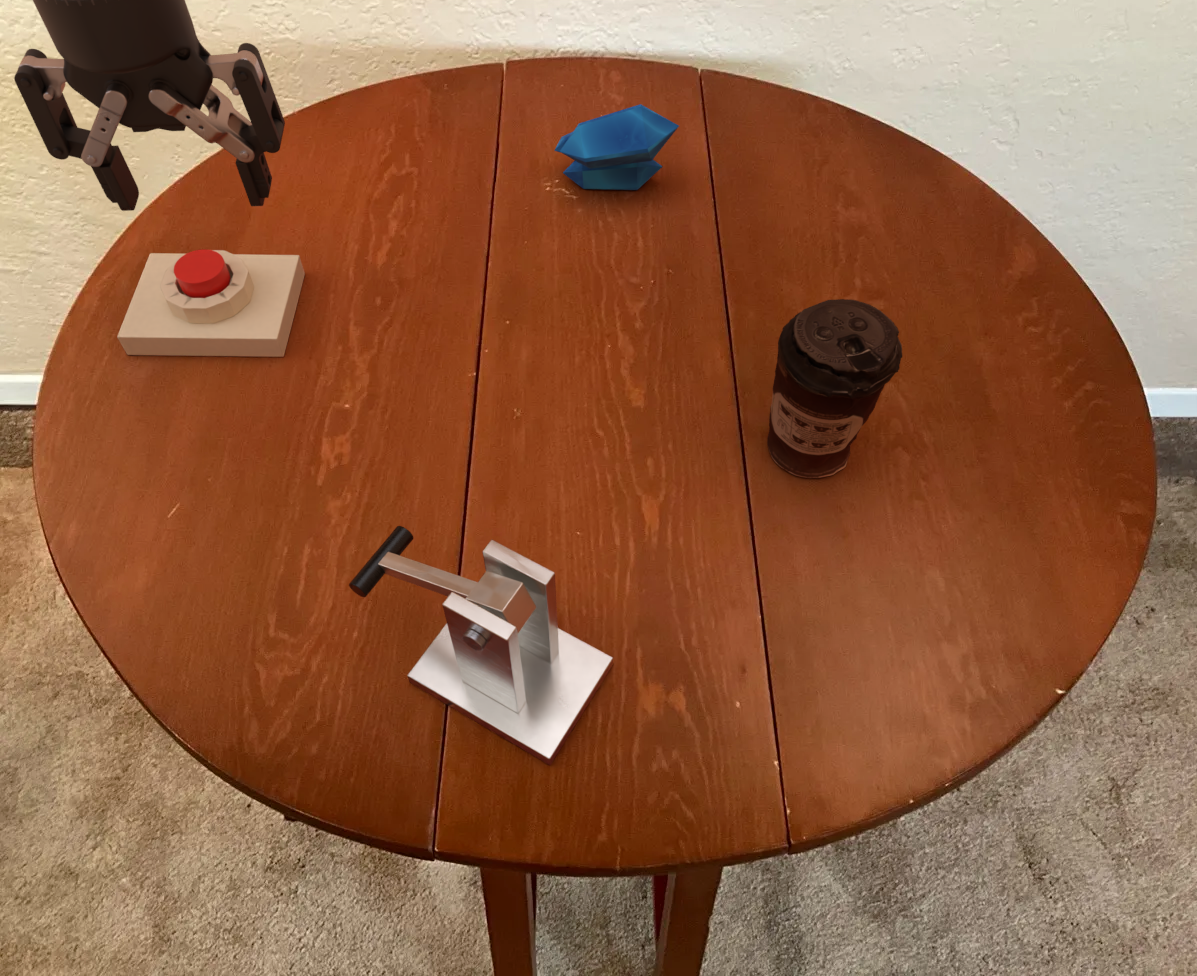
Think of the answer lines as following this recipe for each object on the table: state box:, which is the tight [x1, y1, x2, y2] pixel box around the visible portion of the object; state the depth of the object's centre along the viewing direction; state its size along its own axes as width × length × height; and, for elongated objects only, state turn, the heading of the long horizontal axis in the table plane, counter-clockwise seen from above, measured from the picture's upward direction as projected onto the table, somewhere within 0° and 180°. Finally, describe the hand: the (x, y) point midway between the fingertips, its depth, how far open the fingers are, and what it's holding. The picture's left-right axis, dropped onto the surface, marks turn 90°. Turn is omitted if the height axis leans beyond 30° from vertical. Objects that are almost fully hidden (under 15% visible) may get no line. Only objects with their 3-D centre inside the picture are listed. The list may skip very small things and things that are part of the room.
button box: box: [117, 249, 306, 358], centre depth 81 cm, size 13×10×4 cm
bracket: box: [406, 539, 614, 766], centre depth 59 cm, size 11×8×12 cm
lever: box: [348, 525, 536, 633], centre depth 59 cm, size 12×5×2 cm, turn 60°
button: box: [174, 248, 230, 298], centre depth 79 cm, size 4×4×2 cm
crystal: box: [554, 103, 680, 191], centre depth 90 cm, size 7×9×12 cm
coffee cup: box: [766, 298, 903, 479], centre depth 70 cm, size 9×8×13 cm
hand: (195, 200), depth 65 cm, fingers open, 8 cm apart
